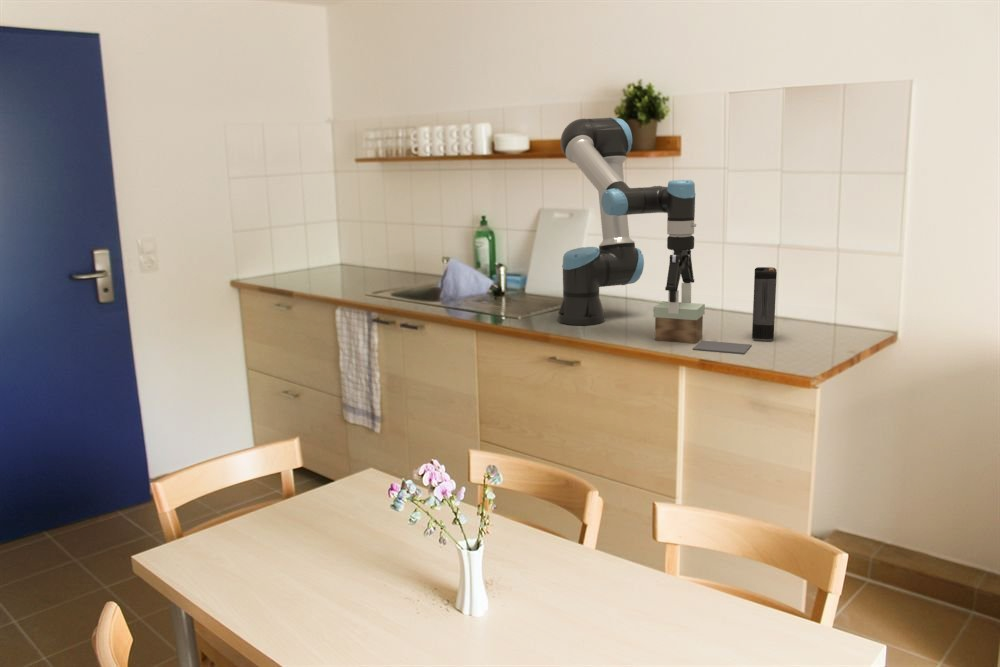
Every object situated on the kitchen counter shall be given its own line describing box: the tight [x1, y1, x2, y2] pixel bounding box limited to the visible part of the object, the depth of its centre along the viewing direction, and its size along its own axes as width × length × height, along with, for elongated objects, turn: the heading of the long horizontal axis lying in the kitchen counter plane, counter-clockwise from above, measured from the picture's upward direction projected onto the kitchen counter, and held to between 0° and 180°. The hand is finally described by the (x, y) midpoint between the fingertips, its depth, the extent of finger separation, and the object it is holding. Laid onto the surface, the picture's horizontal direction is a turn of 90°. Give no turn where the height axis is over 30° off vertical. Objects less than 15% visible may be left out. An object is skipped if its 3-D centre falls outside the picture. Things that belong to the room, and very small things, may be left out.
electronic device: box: [751, 266, 778, 342], centre depth 243 cm, size 9×6×20 cm, turn 163°
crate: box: [654, 315, 704, 344], centre depth 245 cm, size 12×7×7 cm, turn 63°
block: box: [653, 301, 706, 320], centre depth 244 cm, size 12×9×4 cm
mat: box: [692, 340, 753, 355], centre depth 235 cm, size 14×10×1 cm
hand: (679, 309), depth 244 cm, fingers open, 13 cm apart
